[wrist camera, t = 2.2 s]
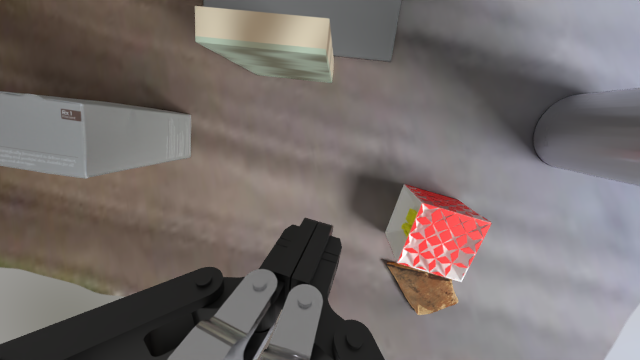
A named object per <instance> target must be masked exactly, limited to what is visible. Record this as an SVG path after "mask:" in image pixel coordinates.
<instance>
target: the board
mask: <svg viewBox="0 0 640 360" xmlns="http://www.w3.org/2000/svg"><path fill="white" fill-rule="evenodd" d="M195 39H196V42H197V43H199V44H200V45H202V46H204V47H206V48H208V49H210V50H212V51H213V52H215V53H217V54H219V55H221V56H223V57H225V58H226V59H228V60H230V61H232V62H234V63H236V64H238V65H239V66H241V67H243V68H245V69H247V70H249V71H251V72H253V73H254V74H256V75H262V76H271V77H280V78H290V79H299V80H308V81H318V82H327V83H332V77H333V69H334V57H333V48H332V39H331V29H330V20H329V18H319V17H308V16H298V15H287V14H276V13H265V12H255V11H244V10H233V9H223V8H212V7H201V6H195Z"/></svg>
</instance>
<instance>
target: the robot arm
mask: <svg viewBox="0 0 640 360" xmlns="http://www.w3.org/2000/svg"><path fill="white" fill-rule="evenodd" d="M534 147H535V150H536V152H537V154H538V156H539V157H540V158H541V159H542V160H543V161H544V162H545V163H547V164H548V165H550V166H553V167H556V168H561V169H565V170H570V171H574V172H579V173H583V174H587V175H592V176H596V177H601V178H606V179H610V180H615V181H619V182H624V183H628V184H633V185H637V186H640V88H634V89H624V90H614V91H605V92H596V93H587V94H578V95H573V96H569V97H566V98H564V99H562V100H560V101H558V102H556V103H555V104H554V105H552V106H551V107H550V108H549V109H548V110H547V111H546V112H545V113H544V114H543V115H542V117H541V118H540V120H539V121H538V124H537V126H536V128H535V132H534ZM332 231H333V226H332V225H329V224H325V223H322V222H318V221H315V220H311V219H308V218H304V220H303V222H302V223H301V225H300V227H299V226H296V225H291V226H290V227H288V228H287V229H285V230H284V232H283V233H282V235H281V236H280V238H279V239H278V241H277V242H276V245H274V247H273V248H272V250H271V251H270V253H269V254H268V256H267V257H266V259H265V260H264V262H263V263H262V265H261V266H260V268H259V269H258V270H254V271H252V272H250V273H249V274H248V275H247V276H246V277H241V278H233V277H223V275H222V273H221V271H220V270H219V269H217V268H214V267H204V268H201V269H198V270H195V271H193V272H190V273H187V274H185V275H182V276H179V277H177V278H174V279H172V280H169V281H166V282H164V283H161V284H158V285H156V286H153V287H150V288H148V289H145V290H143V291H140V292H137V293H135V294H132V295H129V296H127V297H124V298H121V299H119V300H116V301H114V302H111V303H108V304H106V305H103V306H101V307H98V308H95V309H93V310H90V311H87V312H84V313H82V314H79V315H77V316H74V317H71V318H69V319H66V320H63V321H61V322H58V323H55V324H53V325H50V326H48V327H45V328H42V329H40V330H37V331H34V332H32V333H29V334H27V335H24V336H21V337H19V338H16V339H13V340H11V341H8V342H5V343H3V344H0V360H257V358H258V356H259V355H260V353H261V351H262V349H263V347H264V346H265V344H266V342H267V340H268V338H269V336H270V335H271V333H272V331H273V329H274V327H275V325H276V320H277V318H278V316H279V314H280V311H281V309H282V312H281V315H280V318H279V320H278V323H277V325H276V328H275V331H274V333H273V336H272V339H271V341H270V344H269V346H268V348H267V349H265V350H264V352H263V354H262V356H261V358H260V360H385V359H384V357H383V356H382V354H381V352H380V350H379V348H378V346H377V344H376V342H375V340H374V338H373V336H372V334H371V332H370V331H369V329H368V328H367V327H366V326H365V325H364V324H362V323H361V322H359V321H356V320H344V319H342V318H341V317H340V316H339V315H337V314H336V313H335V312H334V311H333V310H332V308H331V307H330V305H329V302H328V297H329V293H330V290H331V287H332V284H333V280H334V277H335V274H336V270H337V267H338V262H339V258H340V253H341V249H342V246H341V241H340V239H339V238H336V237H333V236H332Z"/></svg>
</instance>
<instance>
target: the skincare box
mask: <svg viewBox="0 0 640 360" xmlns="http://www.w3.org/2000/svg"><path fill="white" fill-rule="evenodd" d="M190 157H191V115H190V114H184V113H178V112H172V111H166V110H160V109H154V108H147V107H139V106H132V105H125V104H118V103H112V102H103V101H92V100H82V99H71V98H62V97H53V96H43V95H34V94H23V93H13V92H2V91H0V166H6V167H12V168H18V169H24V170H30V171H36V172H43V173H49V174H57V175H64V176H71V177H78V178H89V177H93V176H98V175H103V174H108V173H113V172H118V171H123V170H128V169H133V168H138V167H143V166H149V165H154V164H159V163H164V162H169V161H174V160H179V159H185V158H190Z"/></svg>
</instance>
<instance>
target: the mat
mask: <svg viewBox="0 0 640 360" xmlns="http://www.w3.org/2000/svg"><path fill="white" fill-rule="evenodd" d="M400 6H401V0H203V7H212V8H223V9H233V10H244V11H255V12H265V13H276V14H287V15H298V16H308V17H319V18H329V20H330V29H331V39H332V48H333V56H338V57H348V58H357V59H367V60H377V61H387V62H391V58H392V53H393V47H394V41H395V35H396V29H397V23H398V17H399V12H400Z"/></svg>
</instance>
